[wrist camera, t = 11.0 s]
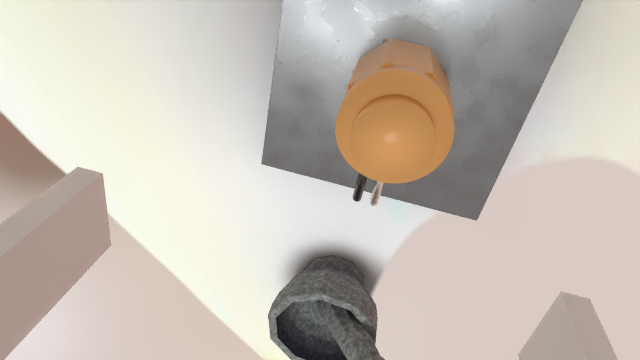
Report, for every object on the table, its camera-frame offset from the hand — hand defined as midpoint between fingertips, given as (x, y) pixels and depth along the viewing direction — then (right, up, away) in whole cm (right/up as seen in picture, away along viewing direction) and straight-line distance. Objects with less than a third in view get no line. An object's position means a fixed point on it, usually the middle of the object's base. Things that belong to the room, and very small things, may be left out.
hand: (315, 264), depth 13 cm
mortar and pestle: (+2, -7, +31) cm, 32 cm away
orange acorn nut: (+6, +9, +18) cm, 21 cm away
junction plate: (+6, +10, +20) cm, 23 cm away
